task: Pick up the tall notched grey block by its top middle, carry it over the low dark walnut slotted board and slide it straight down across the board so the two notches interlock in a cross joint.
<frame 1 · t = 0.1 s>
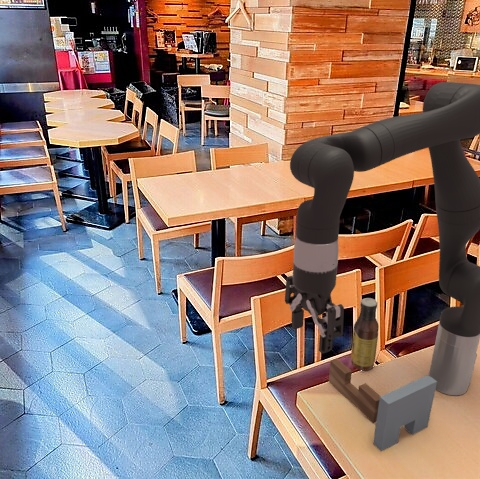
hand: (310, 338, 85), 29 cm above the table, tool pointing down, fingers open, 8 cm apart
grey block: (400, 435, 101), on the table
sauce bottle: (361, 365, 123), on the table
walnut board: (352, 399, 111), on the table
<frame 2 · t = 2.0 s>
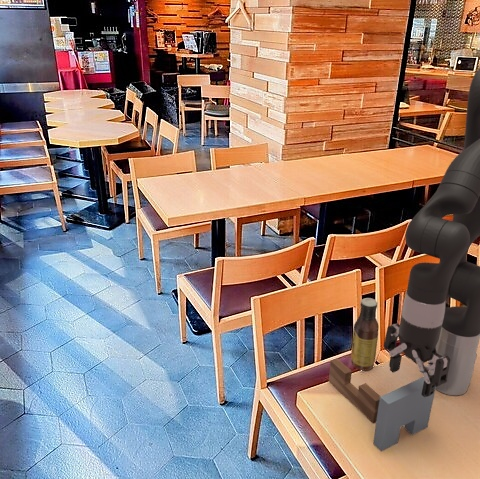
hand: (409, 382, 95), 15 cm above the table, tool pointing down, fingers open, 8 cm apart
nothing on the table moved.
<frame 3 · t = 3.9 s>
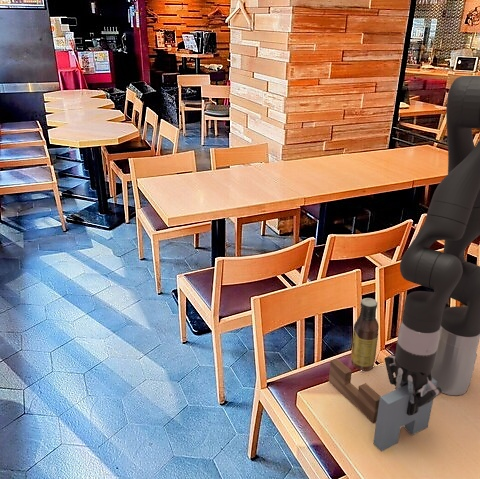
hand: (405, 408, 98), 8 cm above the table, tool pointing down, fingers closed on grey block, 2 cm apart
grey block: (400, 435, 101), on the table, touching gripper
everything else where it was.
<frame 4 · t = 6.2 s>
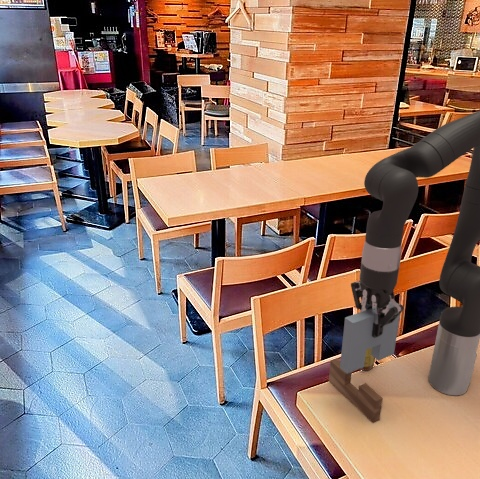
hand: (371, 332, 100), 21 cm above the table, tool pointing down, fingers closed on grey block, 2 cm apart
grey block: (367, 360, 103), point 14 cm above the table, touching gripper
everything else where it was.
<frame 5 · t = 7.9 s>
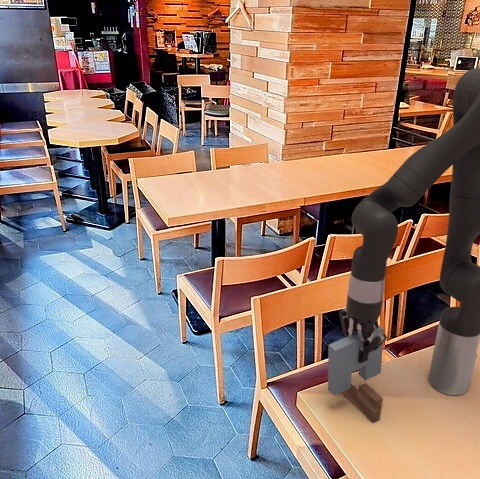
hand: (357, 357, 106), 13 cm above the table, tool pointing down, fingers closed on grey block
grey block: (354, 381, 108), point 6 cm above the table, touching gripper
everything else where it was.
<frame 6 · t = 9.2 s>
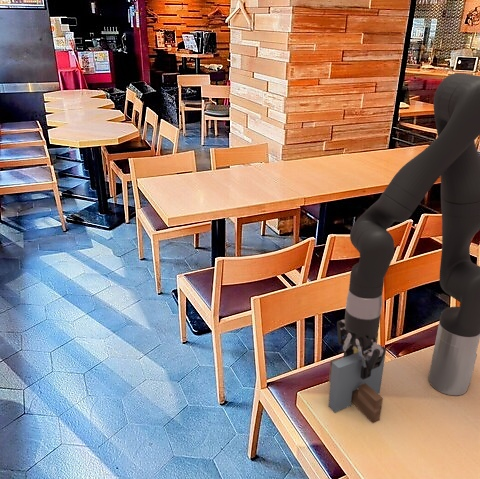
hand: (356, 370, 107), 9 cm above the table, tool pointing down, fingers open, 5 cm apart
grey block: (354, 399, 111), on the table
everything else where it was.
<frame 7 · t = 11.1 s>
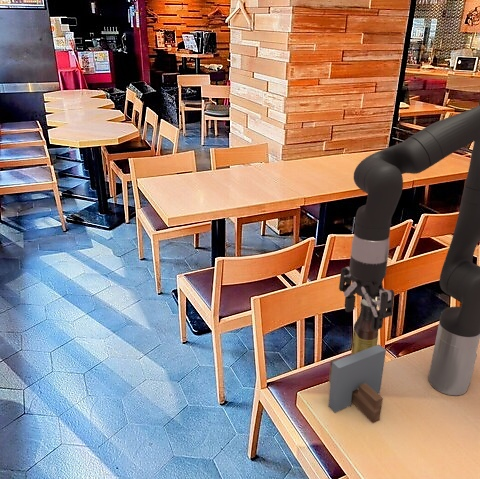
hand: (362, 319, 102), 23 cm above the table, tool pointing down, fingers open, 8 cm apart
nothing on the table moved.
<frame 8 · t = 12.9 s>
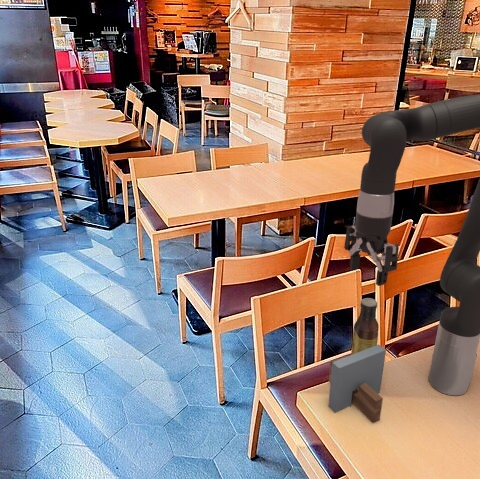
hand: (366, 276, 105), 30 cm above the table, tool pointing down, fingers open, 8 cm apart
nothing on the table moved.
at the end: grey block 0.4 cm off-centre on the walnut board, point 0.0 cm above the walnut board's base; grey block tilted 0°; the gripper is holding nothing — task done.
